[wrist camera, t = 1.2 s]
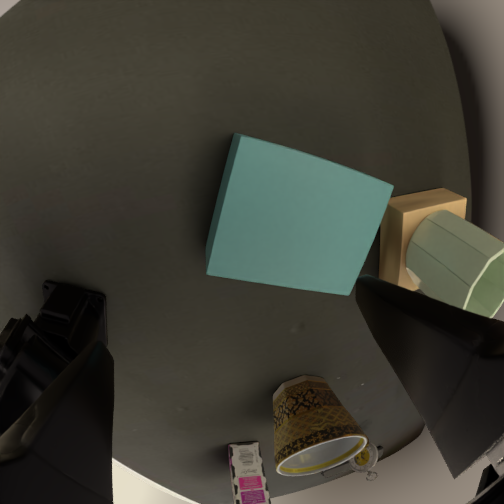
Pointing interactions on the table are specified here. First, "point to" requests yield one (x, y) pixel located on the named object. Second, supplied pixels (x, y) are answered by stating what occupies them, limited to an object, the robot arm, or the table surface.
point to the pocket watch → (365, 460)
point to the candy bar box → (247, 474)
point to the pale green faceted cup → (457, 263)
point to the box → (292, 218)
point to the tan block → (409, 229)
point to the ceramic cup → (312, 428)
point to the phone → (344, 466)
